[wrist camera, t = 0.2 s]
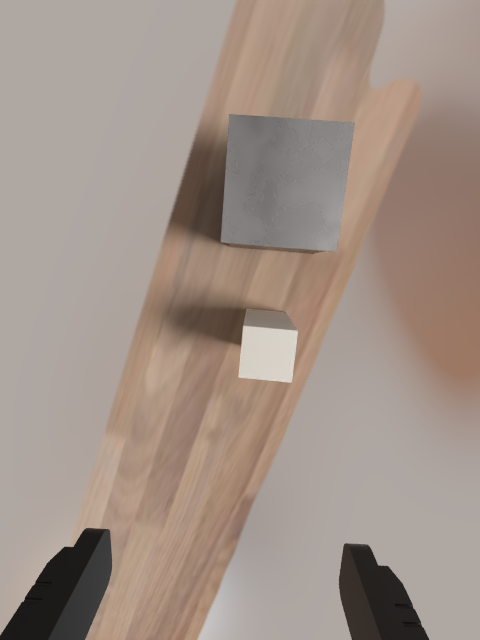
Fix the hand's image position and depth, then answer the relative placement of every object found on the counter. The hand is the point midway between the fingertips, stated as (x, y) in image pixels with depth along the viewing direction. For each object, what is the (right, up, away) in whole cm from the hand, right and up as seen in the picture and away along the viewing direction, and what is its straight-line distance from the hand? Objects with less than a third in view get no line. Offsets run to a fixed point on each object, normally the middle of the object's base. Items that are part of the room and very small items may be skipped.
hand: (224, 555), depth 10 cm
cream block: (+4, +7, +28) cm, 29 cm away
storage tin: (+5, +21, +25) cm, 33 cm away
